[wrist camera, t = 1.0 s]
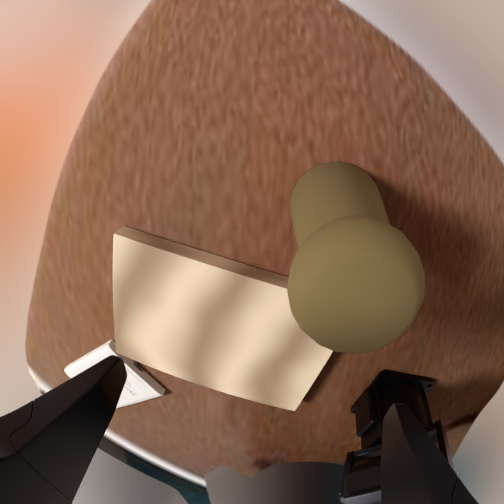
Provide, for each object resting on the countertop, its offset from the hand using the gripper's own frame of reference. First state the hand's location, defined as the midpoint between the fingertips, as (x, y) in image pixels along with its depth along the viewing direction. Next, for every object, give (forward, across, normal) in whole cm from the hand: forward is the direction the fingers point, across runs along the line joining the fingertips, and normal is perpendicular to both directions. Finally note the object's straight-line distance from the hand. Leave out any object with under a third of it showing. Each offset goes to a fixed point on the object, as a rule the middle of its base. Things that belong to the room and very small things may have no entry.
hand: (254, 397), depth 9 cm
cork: (+13, -3, -2) cm, 14 cm away
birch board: (+13, +4, +9) cm, 16 cm away
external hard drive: (+14, +18, +21) cm, 31 cm away
